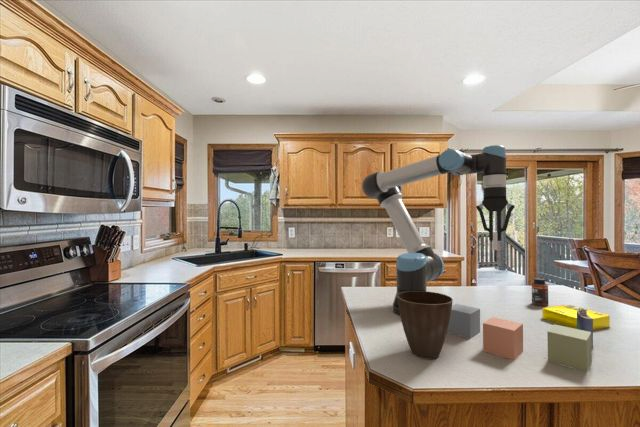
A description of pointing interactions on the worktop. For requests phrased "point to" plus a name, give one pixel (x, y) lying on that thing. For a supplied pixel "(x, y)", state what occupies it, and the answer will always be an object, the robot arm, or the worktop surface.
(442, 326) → the plant pot
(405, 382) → the worktop surface
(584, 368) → the olive block
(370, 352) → the worktop surface
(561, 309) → the element tile
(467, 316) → the slate block
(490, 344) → the terracotta block
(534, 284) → the supplement bottle
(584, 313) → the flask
